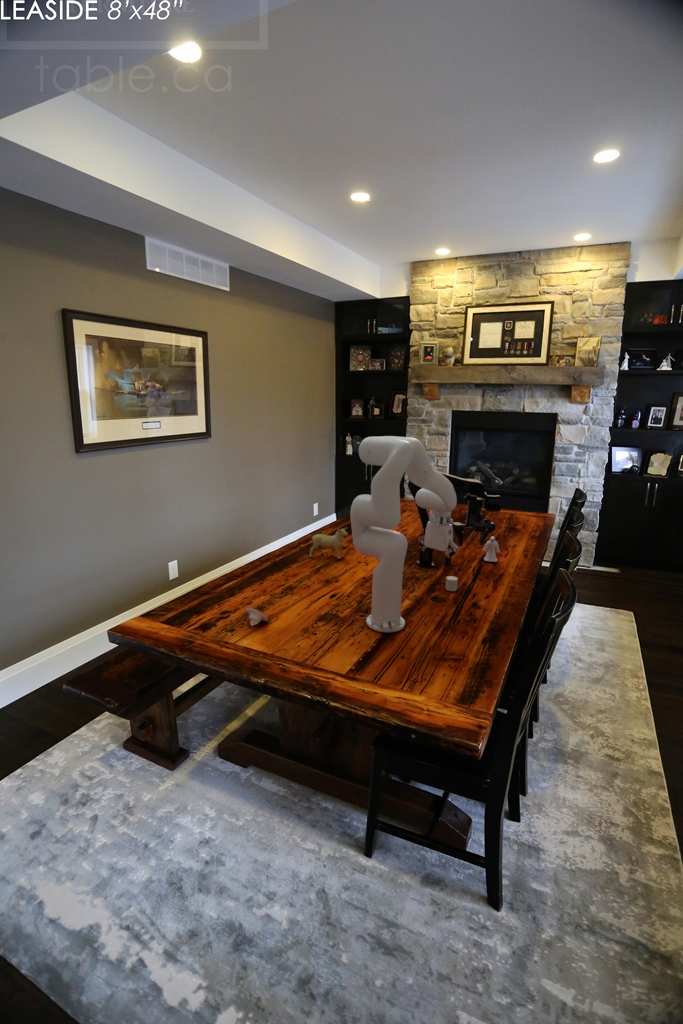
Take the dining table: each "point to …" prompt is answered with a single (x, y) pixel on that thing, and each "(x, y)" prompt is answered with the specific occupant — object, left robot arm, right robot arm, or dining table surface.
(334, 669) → the dining table surface
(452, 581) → the canister
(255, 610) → the seashell
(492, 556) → the figurine
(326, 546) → the toy
